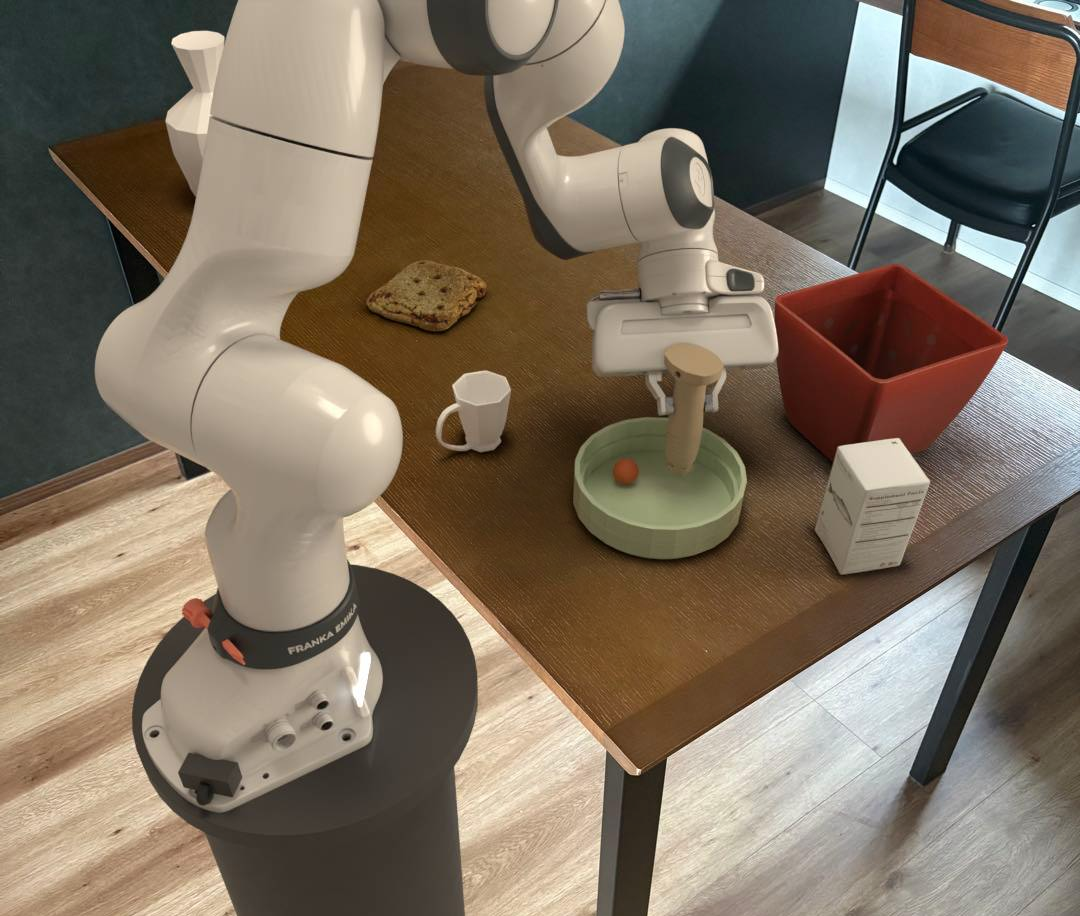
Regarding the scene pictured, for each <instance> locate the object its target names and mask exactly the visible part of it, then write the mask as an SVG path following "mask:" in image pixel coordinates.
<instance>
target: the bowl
mask: <svg viewBox="0 0 1080 916" xmlns="http://www.w3.org/2000/svg"><path fill="white" fill-rule="evenodd" d="M667 422H668V417H655V416H654V417H652V416H645V417H638V418H629V419H628V418H627V419H625V420H621V421H618V422H615V423H611V424H609V425H608V424H607V425H606V426H604V427H603V428H601V429H599V430H598V431H596V432H594V433H593V434H591V435H590V436H589V437H588V438H587V439H586V440H585V442H584V443H582V444H581V446H580V448H579V450H578V452H577V455H576V457H575V459H574V470H573V471H574V472H573V473H574V474H573V489H572V490H573V493H572V494H573V495H572V504H573V506H574V507H573V508H574V509H575V512H576V515H577V518H578V519H579V521H580V522H581V523H582V524H583V525H584V527H585V528H586V529H587V531H589V533H590V534H592V535H593V536H595V537H596V538H597V539H598V540H599V541H601V542H603V543H604V544H605V545H608V546H609V547H611V548H613V549H614V550H617V551H619V552H622V553H625V554H628V555H632V556H634V557H640V558H645V559H650V560H651V559H652V560H654V559H655V560H675V559H683V558H687V557H692V556H697V555H698V554H701V553H704V552H706V551H708V550H711V549H713V548H715V547H717V546H718V545H719V544H721V543H722V542H724V541H725V540H726V539H727V538H729V536H730V535H731V534H732V532H733V531H734V530H735V529H736V527H737V526H738V524H739V521H740V517H741V513H742V508H743V503H744V499H745V494H746V489H747V484H748V479H747V478H748V477H747V472H746V471H747V470H746V466H745V464H744V462H743V460H742V458H741V456H740V455H739V453H738V452H737V450H735V448H734V447H733V446H731V444H729V442H728V441H727V440H726V439H724V438H722V437H721V436H719V435H718V434H716V433H714V432H713V431H711V430H710V429H708V428H705V427H703V428H702V435H701V441H700V446H699V450H698V453H697V456H696V459H695V461H694V462H695V464H694V468H693V470H692V471H691V472H688V473H687V474H686V475H685V476H681V475H678V474H671V473H670V472H669V471H668V467H667V466H666V465H665V456H666V454H665V437H666V428H667ZM624 458H628V459H631V460H633V461H634V462H635V463H636V464H637V466H638V469H639V474H638V477H637V478H636V480H635V481H634V482H632V483H630V484H622V483H619V482H618V481H617V480H616V479H615V478H614V475H613V467H614V465H615V463H616V462H617V461H619V460H620V459H624Z"/></svg>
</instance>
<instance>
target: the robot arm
mask: <svg viewBox="0 0 1080 916" xmlns="http://www.w3.org/2000/svg"><path fill="white" fill-rule="evenodd" d="M621 7H622V6H621V5H620V0H237V3H236V6H235V9H234V11H233V13H232V17H231V21H230V24H229V27H228V30H227V34H226V37H225V39H224V48H223V52H222V56H221V59H220V63H219V68H218V73H217V77H216V82H215V87H214V92H213V98H212V104H211V110H210V114H211V115H212V116H210V117H209V124H208V131H207V138H206V144H205V150H204V156H203V162H202V168H201V174H200V179H199V185H198V190H197V196H195V201H194V202H195V203H194V205H193V206H194V207H193V211H192V216H191V220H190V224H189V227H188V229H187V233H186V237H185V239H184V242H183V244H182V245H181V249H180V251H179V253H178V255H177V257H176V259H175V261H174V262H173V265H172V266H171V267H170V270H169V272H168V273H167V275H166V276H165V277H164V279H163V281H162V282H161V283H160V284H159V285H158V287H157V288H156V289H154V291H153V292H152V293H151V294H150V295H149V296H147V297H146V298H145V299H143V300H141V301H139V302H137V303H135V304H133V305H131V306H129V307H127V308H126V309H124V310H123V311H122V312H121V313H119V314H118V315H117V316H116V317H115V319H113V320H112V322H111V323H110V324H109V326H108V327H107V329H106V330H105V331H104V333H103V335H102V337H101V339H100V342H99V344H98V347H97V350H96V355H95V362H94V379H95V384H96V388H97V390H98V393H99V395H100V397H101V399H102V401H104V403H105V404H106V405H107V406H108V407H109V408H110V409H111V410H112V411H113V412H114V413H115V414H116V415H118V416H119V417H120V418H121V419H122V420H124V422H125V423H127V424H128V425H130V426H131V427H132V428H133V429H134V430H135V431H136V432H138V433H139V434H140V435H142V436H143V437H144V438H145V439H147V440H148V441H151V442H152V443H155V444H157V445H158V446H161V447H163V448H164V449H167V450H169V451H171V452H173V453H174V454H177V455H180V456H181V457H183V458H185V459H188V460H190V461H192V462H193V463H196V464H197V465H200V466H202V467H204V468H206V469H207V470H208V471H210V472H212V473H213V474H216V476H218V477H219V478H220V479H221V480H222V481H223V482H224V483H225V485H227V487H229V490H228V491H226V493H224V494H223V495H222V496H221V497H220V499H219V500H218V501H217V503H216V504H215V506H214V507H213V509H212V511H211V513H210V515H209V517H208V519H207V522H206V525H205V529H204V543H205V546H206V549H207V554H208V557H209V560H210V565H211V567H212V571H213V574H214V579H215V582H216V585H217V589H216V592H215V594H216V596H215V600H214V605H213V610H212V611H211V610H210V609H208V608H207V607H206V605H205V604H204V602H203V600H202V599H201V598H198V597H194V598H191V599H189V600H188V601H186V602H185V603H184V605H183V607H182V608H181V615H182V617H185V618H186V619H187V620H189V621H190V622H191V624H192V626H193V627H195V628H202V627H205V629H204V630H203V631H202V633H201V634H200V635H199V636H198V638H197V639H196V640H195V641H194V642H193V643H192V645H191V646H190V647H189V648H188V649H187V651H186V652H185V653H184V654H183V655H182V657H181V658H180V659H179V660H178V661H177V662H176V664H175V665H174V666H173V667H172V668H171V669H170V670H169V671H168V673H167V674H166V675H165V677H164V679H163V682H162V687H161V699H160V700H159V701H157V702H156V703H155V704H154V705H153V706H151V707H150V708H149V709H148V710H147V711H146V712H145V713H144V715H143V720H142V733H143V738H144V743H145V747H146V749H147V752H148V754H149V757H150V758H151V760H152V762H153V764H154V766H155V767H156V768H157V770H158V771H159V773H160V774H161V775H162V777H163V778H164V779H165V780H166V781H167V783H168V784H169V785H170V786H171V787H172V788H173V789H174V790H175V791H176V792H177V793H178V794H179V795H181V796H182V797H183V798H185V799H186V800H187V801H189V802H190V803H192V804H194V805H196V806H198V807H200V808H203V809H205V810H208V811H212V812H217V813H223V812H226V811H229V810H231V809H233V808H235V807H237V806H240V805H242V804H244V803H246V802H248V801H250V800H252V799H254V798H256V797H259V796H261V795H263V794H265V793H267V792H269V791H271V790H273V789H275V788H278V787H280V786H282V785H284V784H286V783H288V782H290V781H292V780H294V779H297V778H299V777H301V776H303V775H305V774H307V773H309V772H311V771H313V770H316V769H318V768H320V767H322V766H324V765H326V764H328V763H330V762H332V761H335V760H337V759H339V758H341V757H343V756H345V755H347V754H349V753H351V752H354V751H356V750H358V749H360V748H362V747H364V746H366V745H367V744H368V743H369V742H370V741H371V739H372V736H373V720H372V714H373V711H374V708H375V706H376V703H377V701H378V699H379V696H380V693H381V689H382V683H383V673H382V667H381V664H380V661H379V659H378V657H377V655H376V654H375V652H374V651H373V649H372V648H371V646H370V645H369V643H368V641H367V639H366V637H365V634H364V632H363V629H362V626H361V624H360V620H359V617H358V610H359V598H358V592H357V586H356V582H355V577H354V572H353V569H352V566H351V564H352V563H350V560H349V559H348V556H347V548H346V539H345V529H344V519H345V518H347V517H351V516H353V515H356V514H358V513H359V512H361V511H363V510H365V509H366V508H367V507H369V506H370V505H372V504H373V503H374V502H376V500H378V498H380V497H381V495H382V494H383V493H384V492H385V491H386V490H387V488H388V487H389V485H390V484H391V482H392V481H393V479H394V478H395V476H396V473H397V471H398V468H399V465H400V462H401V459H402V455H403V454H402V452H403V445H404V444H403V443H404V434H403V425H402V420H401V417H400V413H399V409H398V408H397V405H396V404H395V403H394V401H392V399H391V398H389V396H387V395H386V394H385V393H383V392H382V391H380V390H379V389H378V388H377V387H374V386H373V384H371V383H369V382H368V381H367V380H365V379H364V378H362V377H361V376H359V375H358V374H357V373H355V372H353V371H352V370H351V369H349V368H348V367H346V366H344V365H342V364H340V363H338V362H335V361H333V360H331V359H329V358H326V357H324V356H321V355H319V354H317V353H314V352H311V351H309V350H306V349H304V348H302V347H299V346H296V345H294V344H292V343H290V342H287V341H285V340H283V339H281V328H282V323H283V321H284V318H285V316H286V313H287V311H288V309H289V306H290V305H291V303H292V301H294V299H295V297H296V296H297V295H298V294H299V293H300V292H305V291H308V290H313V289H316V288H319V287H322V286H325V285H326V284H329V283H331V282H332V281H334V280H335V279H337V278H338V277H340V276H341V275H342V274H343V273H344V272H345V271H346V270H347V268H348V267H349V265H350V264H351V262H352V260H353V257H354V256H355V251H356V247H357V241H358V236H359V231H360V226H361V221H362V216H363V211H364V205H365V201H366V195H367V190H368V185H369V180H370V175H371V170H372V166H373V161H374V160H373V158H374V155H375V150H376V144H377V138H378V132H379V127H380V126H379V125H380V118H381V117H380V116H381V110H382V101H383V89H384V83H385V81H386V80H387V77H388V76H389V74H390V73H391V71H392V69H393V68H394V67H395V65H397V63H398V61H402V62H406V63H411V64H414V65H419V66H425V67H430V68H439V69H450V70H455V71H456V72H458V73H461V74H463V75H467V76H475V77H477V76H479V77H483V94H484V103H485V107H486V109H485V110H486V112H487V116H488V119H489V122H490V125H491V129H492V131H493V133H494V135H495V139H496V141H497V143H498V145H499V148H500V150H501V152H502V155H503V158H504V160H505V161H506V165H507V166H508V169H509V171H510V174H511V175H512V177H513V180H514V182H515V185H516V187H517V189H518V192H519V194H520V196H521V199H522V201H523V204H524V208H525V212H526V215H527V219H528V223H529V226H530V230H531V232H532V235H533V237H534V239H535V242H537V244H538V245H539V246H541V248H543V249H545V251H546V252H548V253H550V254H551V255H552V256H555V257H556V258H558V259H560V260H563V261H569V260H572V259H576V258H580V257H582V256H586V255H589V254H593V253H595V252H598V251H603V250H608V249H614V248H618V247H624V246H630V245H635V244H638V252H637V256H636V270H637V283H638V288H627V289H626V288H625V289H620V290H619V289H618V290H610V289H605V290H601V291H598V293H597V294H595V295H594V296H592V297H591V298H590V299H589V300H588V302H587V304H586V307H585V311H586V312H585V313H586V322H587V325H588V327H589V329H590V330H591V331H592V337H591V356H590V357H591V370H592V371H593V372H594V373H595V375H596V376H598V378H616V377H617V378H618V377H632V376H635V377H636V376H644V380H645V386H646V388H647V389H648V391H649V392H650V394H651V395H652V397H653V398H654V399H655V400H656V406H657V415H658V416H669V415H671V414H674V406H673V403H674V399H673V396H666V394H665V393H664V390H662V388H661V386H660V385H659V383H661V382H662V381H663V377H662V375H671V373H670V372H669V371H668V369H667V368H666V366H665V364H664V357H665V352H666V350H667V349H668V348H669V347H671V346H673V345H675V344H678V343H689V344H694V345H698V346H701V347H703V348H706V349H707V350H709V351H711V352H713V353H714V354H716V355H717V356H718V357H719V358H720V360H721V361H722V363H723V364H724V366H723V371H722V375H721V377H720V379H719V380H717V381H716V382H714V383H712V385H711V388H710V390H709V392H708V394H705V402H704V414H706V413H717V412H718V411H719V399H718V398H719V394H720V392H721V390H722V388H723V385H724V384H725V382H726V379H727V371H739V370H740V371H741V370H757V369H765V368H767V367H769V366H771V365H772V364H773V363H774V362H776V361H775V360H776V358H777V356H778V340H777V332H776V327H775V316H774V312H773V310H772V307H771V305H770V304H769V302H768V301H767V300H766V299H765V298H764V297H762V296H760V295H761V294H762V292H763V291H764V289H765V279H764V275H762V274H761V273H759V272H756V271H752V270H749V269H745V268H741V267H737V266H734V265H731V264H727V263H725V262H722V261H719V260H720V259H719V251H718V247H717V245H716V242H715V239H714V224H715V220H716V207H715V191H714V179H713V174H712V170H711V167H710V164H709V162H708V156H707V153H706V150H705V146H704V142H703V141H702V139H701V138H700V137H699V136H698V135H697V134H695V133H694V132H692V131H690V130H688V129H683V128H676V127H668V128H667V127H666V128H660V129H656V130H653V131H651V132H649V133H647V134H645V135H644V136H642V137H641V138H640V139H639V140H638V141H637V142H633V143H628V144H625V145H623V146H622V145H621V146H619V147H614V148H609V149H605V150H600V151H596V152H591V153H588V154H583V155H576V156H575V155H573V156H571V155H570V156H569V155H568V156H567V155H559V154H557V152H556V149H555V147H554V144H553V141H552V138H551V136H550V133H549V130H548V128H549V127H550V126H551V125H553V124H554V123H556V122H558V121H559V120H561V119H562V118H564V117H566V116H568V115H570V114H572V113H574V112H575V111H577V110H579V109H581V108H583V107H584V106H586V105H587V104H588V103H589V102H591V101H592V100H593V99H594V98H595V97H596V96H597V95H598V94H599V93H600V92H601V91H602V90H603V88H604V87H605V86H606V84H608V82H609V80H610V79H611V77H612V75H613V74H614V72H615V70H616V68H617V66H618V63H619V61H620V58H621V55H622V52H623V49H624V48H623V47H624V42H625V33H626V32H625V31H626V29H625V21H624V16H623V11H622V8H621ZM597 299H598V300H597ZM154 735H158V736H157V737H155V738H152V737H153V736H154ZM345 738H350V740H348V741H343V740H344V739H345Z"/></svg>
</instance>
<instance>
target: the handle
mask: <svg viewBox="0 0 1080 916" xmlns="http://www.w3.org/2000/svg"><path fill="white" fill-rule="evenodd" d="M664 364H665V366H666V368H667V369H668V371H669V372H670V373H671V374H670V375H671V376H672V377H673V378H674V386H673V393H672V397H673V399H674V403H673V406H674V414H671V415H668V417H667V418H668V422H667V428H666V437H665V454H666V456H665V465H666V466H667V467H668V471H669V472H670V473H671V474H678V475H681V476H685V475H686V474H687V473H688V472H691V471H692V470H693V468H694V464H695V462H694V461H695V459H696V456H697V453H698V450H699V446H700V441H701V435H702V428H704V426H703V425H704V415H705V413H704V402H705V395H706V392H707V391H706V390H707V386H709V385H713V383H714V382H716V381H717V380H719V379H720V377H721V375H722V371H723V366H724V364H723V363H722V361H721V360H720V358H719V357H718V356H717V355H716V354H714V353H713V352H711V351H709V350H707V349H706V348H703V347H701V346H698V345H694V344H689V343H678V344H675V345H673V346H671V347H669V348H668V349H667V350H666V352H665V357H664Z"/></svg>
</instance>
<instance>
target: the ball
mask: <svg viewBox="0 0 1080 916" xmlns="http://www.w3.org/2000/svg"><path fill="white" fill-rule="evenodd" d="M638 474H639V469H638V466H637V464H636V463H635V462H634V461H633V460H631V459H628V458H624V459H620V460H619V461H617V462H616V463H615V465H614V467H613V475H614V478H615V479H616V480H617V481H618V482H619V483H622V484H630V483H632V482H634V481H635V480H636V478H637V477H638Z"/></svg>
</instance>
